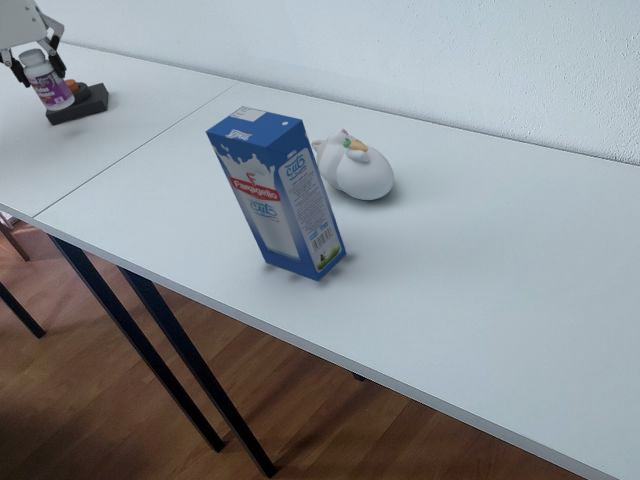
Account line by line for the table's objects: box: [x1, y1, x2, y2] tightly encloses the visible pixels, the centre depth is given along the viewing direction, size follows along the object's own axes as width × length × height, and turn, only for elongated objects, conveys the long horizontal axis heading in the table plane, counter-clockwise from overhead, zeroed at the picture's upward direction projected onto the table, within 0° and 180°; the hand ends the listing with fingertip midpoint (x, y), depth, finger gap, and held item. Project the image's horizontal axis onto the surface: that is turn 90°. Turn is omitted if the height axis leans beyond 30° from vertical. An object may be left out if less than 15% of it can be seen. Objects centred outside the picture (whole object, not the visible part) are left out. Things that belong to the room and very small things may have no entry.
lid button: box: [64, 78, 80, 93], centre depth 128 cm, size 4×4×2 cm
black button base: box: [45, 81, 109, 126], centre depth 130 cm, size 11×9×4 cm
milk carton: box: [205, 105, 348, 282], centre depth 81 cm, size 10×6×20 cm, turn 58°
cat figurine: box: [310, 128, 395, 201], centre depth 96 cm, size 10×8×15 cm
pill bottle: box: [17, 48, 75, 111], centre depth 117 cm, size 5×5×10 cm
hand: (45, 79), depth 117 cm, fingers closed on pill bottle, 5 cm apart
